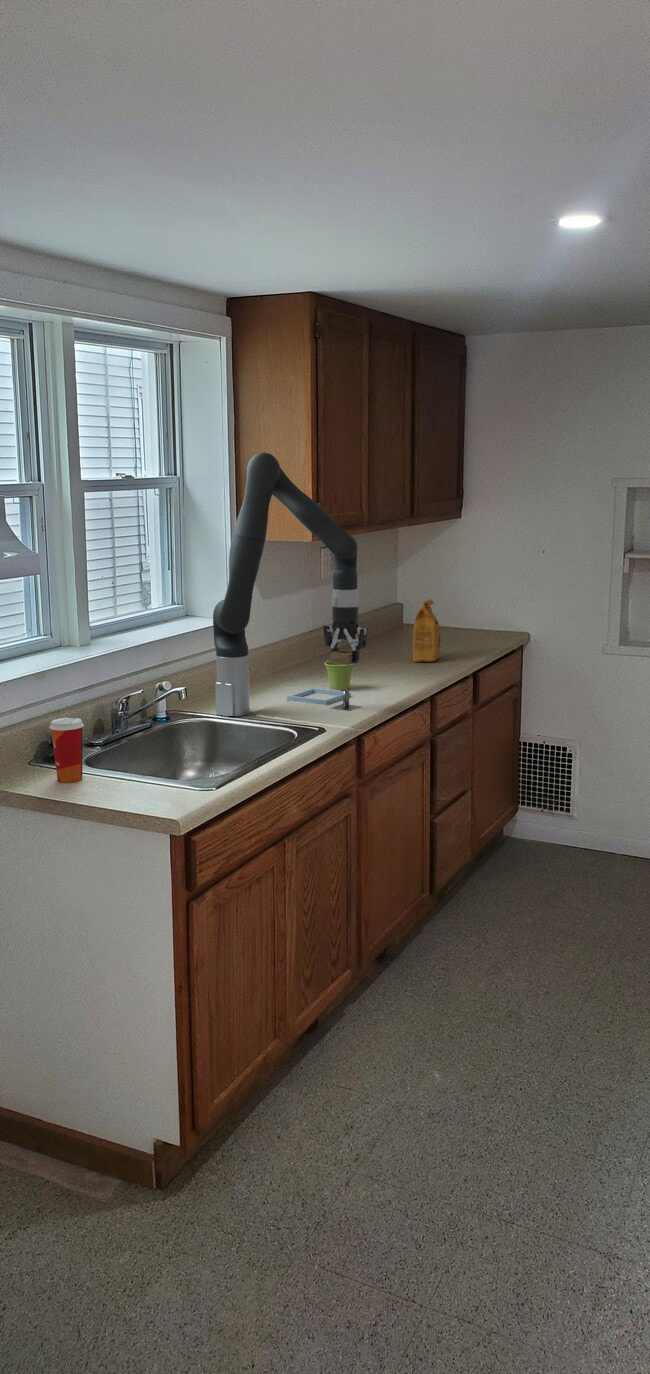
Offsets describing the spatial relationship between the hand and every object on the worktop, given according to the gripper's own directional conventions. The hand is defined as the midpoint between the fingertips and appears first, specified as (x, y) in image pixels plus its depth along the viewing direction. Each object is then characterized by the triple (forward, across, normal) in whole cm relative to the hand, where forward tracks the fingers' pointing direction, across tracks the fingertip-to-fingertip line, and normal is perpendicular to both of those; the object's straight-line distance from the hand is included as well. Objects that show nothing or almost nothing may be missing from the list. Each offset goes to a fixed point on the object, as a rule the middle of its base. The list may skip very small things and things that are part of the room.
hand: (345, 661), depth 320 cm
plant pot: (+15, -18, +25) cm, 34 cm away
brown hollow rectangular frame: (0, 0, 0) cm, 0 cm away
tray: (+14, -14, +7) cm, 21 cm away
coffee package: (+14, -18, +85) cm, 88 cm away
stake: (+14, 0, 0) cm, 14 cm away
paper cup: (+15, -17, -94) cm, 96 cm away
